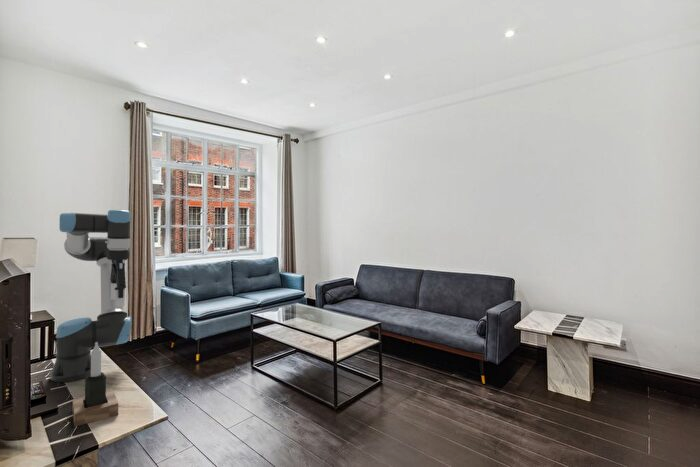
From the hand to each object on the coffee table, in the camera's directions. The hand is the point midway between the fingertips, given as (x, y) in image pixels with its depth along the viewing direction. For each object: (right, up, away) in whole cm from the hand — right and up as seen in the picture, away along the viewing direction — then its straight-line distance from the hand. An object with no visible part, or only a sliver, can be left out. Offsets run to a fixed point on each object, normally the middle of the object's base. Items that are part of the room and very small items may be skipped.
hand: (117, 302), depth 139 cm
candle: (+3, -36, -16) cm, 39 cm away
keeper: (+3, -36, -16) cm, 39 cm away
